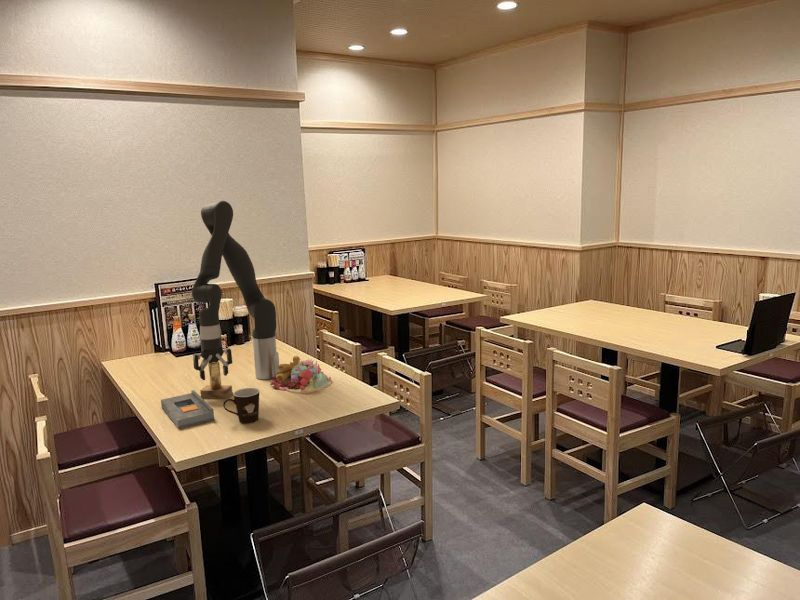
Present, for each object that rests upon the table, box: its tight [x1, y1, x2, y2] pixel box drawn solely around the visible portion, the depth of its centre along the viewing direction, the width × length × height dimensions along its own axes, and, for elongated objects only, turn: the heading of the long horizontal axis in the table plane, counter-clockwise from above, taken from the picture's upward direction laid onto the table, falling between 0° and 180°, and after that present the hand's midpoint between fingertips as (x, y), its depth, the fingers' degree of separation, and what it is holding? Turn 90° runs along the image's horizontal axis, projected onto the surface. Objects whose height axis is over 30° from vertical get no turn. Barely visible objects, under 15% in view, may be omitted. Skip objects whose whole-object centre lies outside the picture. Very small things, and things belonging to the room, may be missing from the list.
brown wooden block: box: [200, 384, 233, 399], centre depth 231 cm, size 10×6×3 cm, turn 83°
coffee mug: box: [222, 387, 260, 425], centre depth 205 cm, size 12×9×10 cm
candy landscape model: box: [270, 355, 333, 395], centre depth 242 cm, size 25×24×9 cm
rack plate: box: [160, 389, 215, 430], centre depth 213 cm, size 24×12×4 cm, turn 34°
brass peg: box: [207, 361, 222, 390], centre depth 230 cm, size 4×4×10 cm
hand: (214, 377), depth 230 cm, fingers open, 8 cm apart
